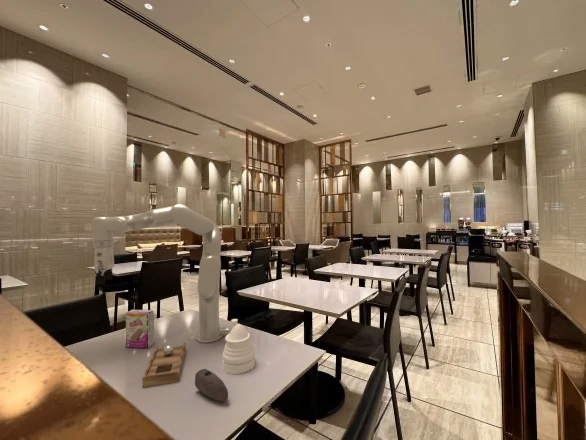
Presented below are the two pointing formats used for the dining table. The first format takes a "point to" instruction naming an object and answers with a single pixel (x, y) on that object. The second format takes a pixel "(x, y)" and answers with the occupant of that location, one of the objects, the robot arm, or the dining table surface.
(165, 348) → the ball
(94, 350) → the dining table surface
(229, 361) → the honey pot
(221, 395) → the perforated stone tool
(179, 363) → the track
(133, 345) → the candy bar box
